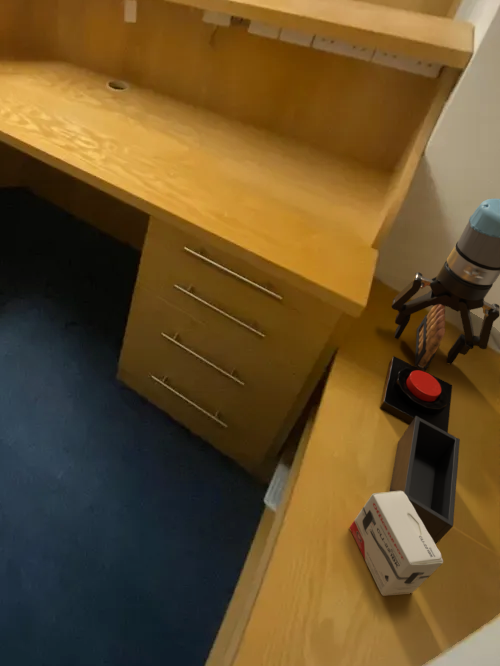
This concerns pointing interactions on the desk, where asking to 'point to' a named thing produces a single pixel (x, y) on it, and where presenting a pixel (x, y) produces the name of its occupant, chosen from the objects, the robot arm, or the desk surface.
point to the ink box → (395, 543)
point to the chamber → (428, 474)
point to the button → (423, 386)
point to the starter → (414, 397)
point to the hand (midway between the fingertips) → (422, 346)
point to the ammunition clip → (429, 336)
